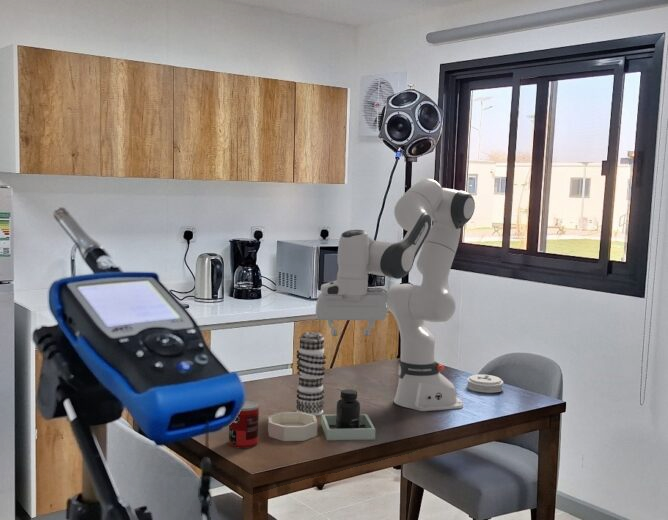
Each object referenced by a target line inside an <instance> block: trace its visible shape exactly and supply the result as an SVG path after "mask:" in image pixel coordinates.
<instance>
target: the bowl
mask: <svg viewBox="0 0 668 520" xmlns="http://www.w3.org/2000/svg"><path fill="white" fill-rule="evenodd" d="M267 433H268V437H269V438H273V439H276V440H279V441H281V442H301V441H302V442H305V441H307V440H310V439H312V438H315V437H317V436H318V420H317V416H314V415H311V414H307V413H303V412H297V411H280V412H277V413H274V414H271V415H269V416H268V417H267Z"/></svg>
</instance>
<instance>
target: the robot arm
mask: <svg viewBox="0 0 668 520" xmlns="http://www.w3.org/2000/svg"><path fill="white" fill-rule="evenodd" d="M475 202H476V201H475V200H474V197H473V196H472V194H471V193H469V192H467V191H465V190H457V189H453V188H446V187H442V186H441V184H440V183H439V182H438V181H436V180H434V179H432V178H423V179H421V180H419V181H417V182H416V183H415V184H413V185H412V186H411V187H410V188H409V189H408V190H407V191H406V192H405V193H404V194H403V195H402V196H401V197H400V198H399V199H398V201H397V202H396V204H395V206H394V211H393V212H394V218H395V221H396V222H397V224H398V225H399V226H400V227H401V228H402V229H403V230H404V231H407V232H406V234H405V235H404V237H403V239H402V240H400V241H397V242H385V241H378V240H375V239H373V238H372V237H370V236H368V235H369V234H368V232H367V231H366V230H363V229H349V230H346V231H344V232H342V233H341V235H340V237H339V241H338V246H337V247H338V249H337V257H336V259H337V265H338V266H337V267H338V271H337V274H336V280H333V281H329V282H326V283H323V284H321V286H320V292H321V293H320V294H319V295H318V296H317V300H316V305H315V317H316V318H317V320H319V321H327V324H328V326H329V328H330V331H331V332H330V335H331V336H333V337H334V336H335V337H337V336H338V329H337V328H335V327H334V326H333V325H334V321H367V323H368V325H367V327H366V328H363V335H364V336H365V337H369V336H371V335H370V334H371V330H372V328H373V327H374V326H375V321H385V320H386V318H387V316H388V315H387V314H388V313H387V309H388V310H389V312H390V313H391V314H392V316H393V317H394V320H395V321H396V325H397V327H398V331H399V335H400V359H399V361H398V369H397V370H398V372H397V374H398V382H397V384H398V385H397V388H396V393H395V397H394V399H393V403H394V404H396V405H398V406H400V407H403V408H408V409H413V410H416V411H419V412H429V411H430V412H431V411H442V410H453V409H462V408H463V407H464V403H463V400H462V399H461V398H460V397H458V396H457V391H456V388H455V386H454V383H452V382H451V381H450V380H449V379H448V378H447V377H445V375H443V374H441V372H444V370H445V366H444V365H443V364H440V363H439V362H437V361H436V360H435V354H436V351H435V350H436V340H435V339H436V338H435V337H434V335H433V333H431V331H429V329H428V328H427V325H426V322H428V323H429V322H430V323H445V322H448V321H450V319H452V317H454V315H455V314H454V313H455V311H456V306H457V305H456V299H455V297H454V295H453V293H451V291H450V288H449V275H450V272H451V268H452V266H453V261H454V259H455V256H456V253H457V250H458V247H459V242H460V237H461V232H462V231H461V229H462V228H463V227H464V226H465V225H466V224H468V222H469V221H470V220H471V219H472V217H473V215H474V212H475V208H476V205H475ZM418 253H419V254H418ZM417 255H418V257H417ZM416 257H417V260H416V268H417V271H419V273H420V274H421V276H422V280H421V281H422V282H421V285H417V284H411V283H399V284H394V285H391V286H390V288H389V289H388V290H386V289H384V288H382V287H369V285H368V283H369V282H368V281H369V275H370V274H371V275H374V276H375V275H376V276H384V277H388V278H392V279H397V280H399V279H400V280H401V279H402V278H405V277H406V276H407V275H408V274H409V273H410V272H411V270H412V268H413V266H414V262H415V259H416ZM368 274H369V275H368Z"/></svg>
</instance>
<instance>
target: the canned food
mask: <svg viewBox="0 0 668 520" xmlns="http://www.w3.org/2000/svg"><path fill="white" fill-rule="evenodd" d="M259 406H260V405H259V403H258V402H256V401H252V400H246V401H245V404H244V406H243V408H242V410H241V412H240V414H239V415H238V417H237V418H236V420H235V421H234V422H233V423H232V424H231V425H229V424H228V443H229V445H230V446H231V447H233V446H234V448H236V447H239V448H238V449H249V447H250V448H253V447H255V446H257V444H258V443H259V421H260V420H259V418H260V416H259V414H260V411H259V409H260V407H259Z"/></svg>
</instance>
